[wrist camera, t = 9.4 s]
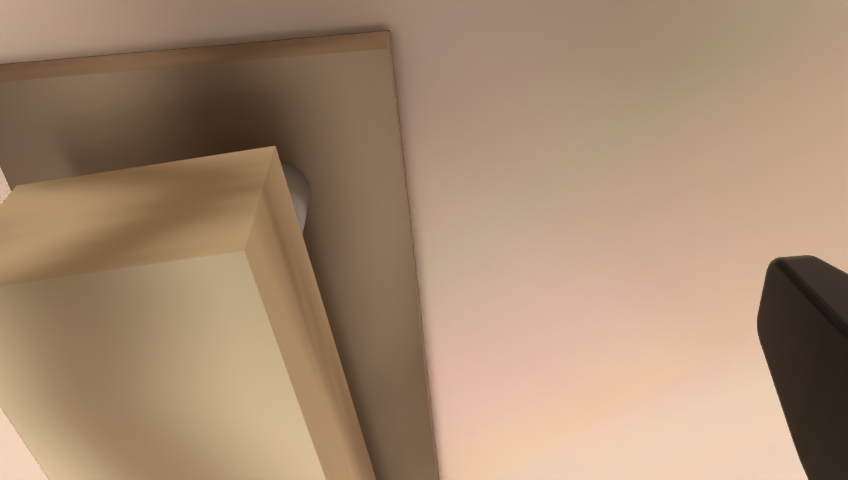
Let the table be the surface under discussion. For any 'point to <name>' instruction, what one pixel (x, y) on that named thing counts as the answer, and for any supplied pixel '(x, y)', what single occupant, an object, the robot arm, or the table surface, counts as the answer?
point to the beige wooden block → (171, 328)
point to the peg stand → (304, 172)
